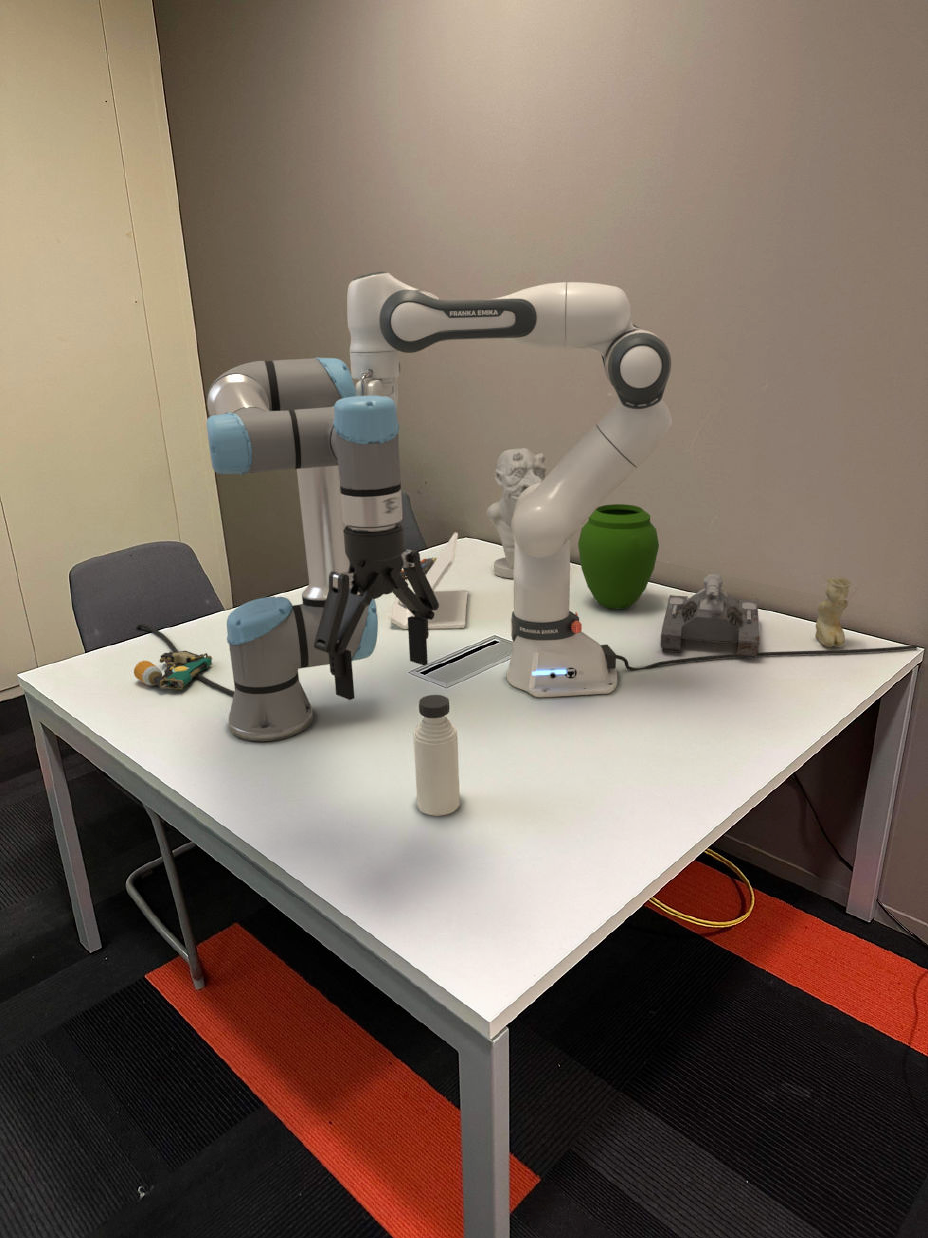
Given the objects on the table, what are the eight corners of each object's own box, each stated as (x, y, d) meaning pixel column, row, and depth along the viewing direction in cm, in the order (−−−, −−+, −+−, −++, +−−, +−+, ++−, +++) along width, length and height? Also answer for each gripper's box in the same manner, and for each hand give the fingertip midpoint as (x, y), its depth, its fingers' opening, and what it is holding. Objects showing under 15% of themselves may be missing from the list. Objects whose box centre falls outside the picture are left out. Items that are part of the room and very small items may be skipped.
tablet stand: (467, 593, 225) (465, 531, 219) (465, 628, 202) (462, 559, 196) (399, 594, 226) (395, 532, 220) (388, 629, 203) (384, 560, 197)
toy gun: (388, 572, 237) (422, 569, 235) (405, 557, 255) (437, 554, 253) (389, 581, 238) (424, 578, 235) (406, 566, 255) (438, 563, 253)
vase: (599, 587, 227) (601, 497, 218) (668, 600, 216) (673, 505, 208) (562, 608, 212) (564, 513, 204) (634, 623, 202) (639, 523, 193)
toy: (668, 614, 207) (671, 554, 201) (755, 620, 201) (761, 559, 196) (659, 654, 184) (663, 588, 179) (757, 663, 178) (764, 595, 173)
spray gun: (177, 659, 191) (231, 671, 185) (120, 684, 176) (176, 698, 171) (176, 641, 190) (230, 653, 184) (118, 665, 175) (174, 678, 169)
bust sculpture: (503, 593, 225) (502, 460, 212) (483, 567, 247) (480, 445, 234) (562, 587, 228) (563, 456, 215) (536, 562, 250) (536, 441, 237)
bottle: (467, 807, 131) (464, 706, 125) (428, 820, 128) (423, 717, 122) (447, 788, 137) (443, 690, 131) (410, 799, 134) (404, 700, 128)
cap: (454, 713, 126) (454, 703, 125) (427, 721, 124) (426, 710, 123) (441, 702, 130) (440, 692, 129) (414, 709, 128) (413, 699, 127)
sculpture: (821, 649, 184) (830, 583, 179) (808, 637, 191) (816, 573, 185) (848, 649, 184) (858, 582, 179) (834, 636, 191) (843, 572, 185)
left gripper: (315, 551, 96) (330, 721, 103) (461, 508, 113) (465, 656, 121) (273, 541, 100) (291, 704, 108) (420, 501, 118) (427, 644, 125)
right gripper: (379, 372, 147) (384, 452, 152) (402, 363, 166) (405, 435, 171) (344, 372, 148) (350, 453, 152) (370, 363, 167) (375, 435, 171)
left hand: (383, 679), depth 114 cm, fingers open, 13 cm apart
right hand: (379, 443), depth 162 cm, fingers open, 8 cm apart
